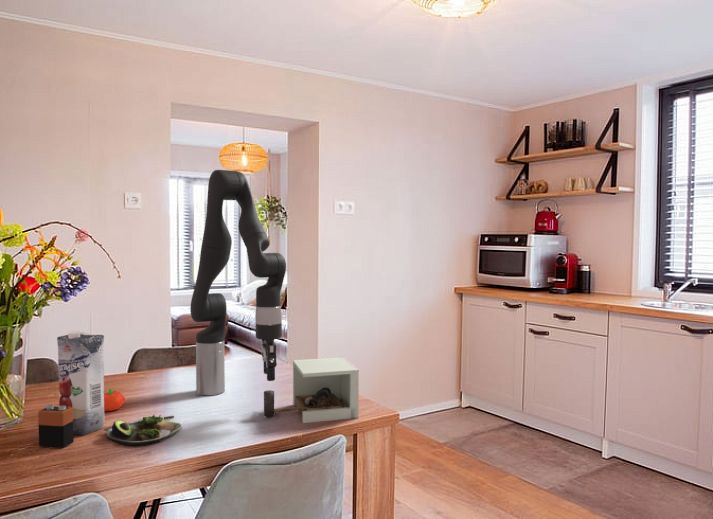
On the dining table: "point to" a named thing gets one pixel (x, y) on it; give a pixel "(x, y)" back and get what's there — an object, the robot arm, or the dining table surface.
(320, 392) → the eagle figurine
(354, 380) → the cubby
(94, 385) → the juice carton
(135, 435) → the salad plate
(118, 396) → the tomato
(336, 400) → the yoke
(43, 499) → the dining table surface
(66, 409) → the battery
